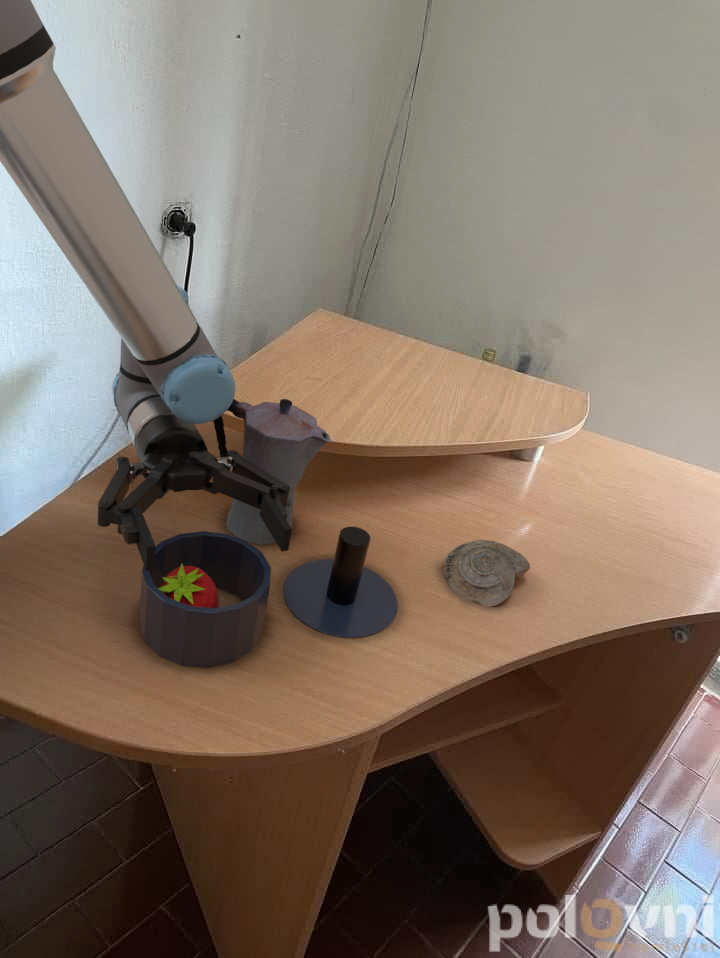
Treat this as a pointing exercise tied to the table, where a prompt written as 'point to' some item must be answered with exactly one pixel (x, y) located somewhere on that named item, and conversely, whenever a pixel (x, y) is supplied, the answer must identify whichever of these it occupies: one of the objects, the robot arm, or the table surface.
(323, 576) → the pot lid
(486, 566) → the fossilized seashell
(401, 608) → the table surface
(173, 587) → the strawberry
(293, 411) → the moka pot
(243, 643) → the pot
